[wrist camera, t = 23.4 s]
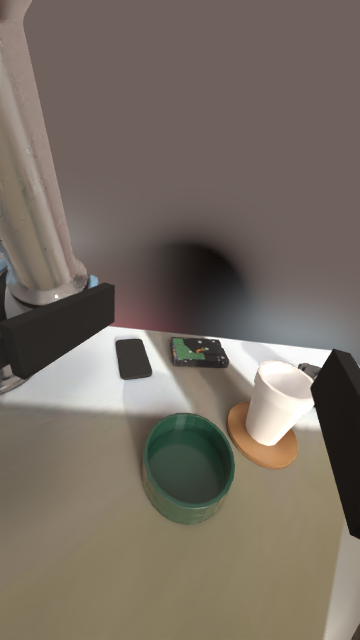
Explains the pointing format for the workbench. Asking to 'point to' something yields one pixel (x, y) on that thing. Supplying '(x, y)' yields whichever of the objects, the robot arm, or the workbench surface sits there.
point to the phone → (132, 359)
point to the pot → (187, 467)
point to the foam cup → (277, 401)
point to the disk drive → (198, 353)
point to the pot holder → (255, 451)
